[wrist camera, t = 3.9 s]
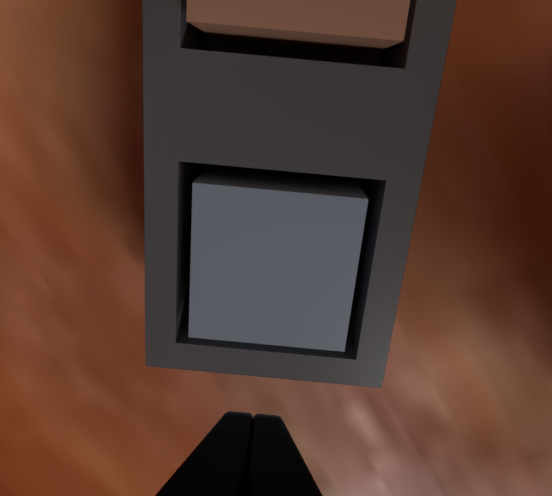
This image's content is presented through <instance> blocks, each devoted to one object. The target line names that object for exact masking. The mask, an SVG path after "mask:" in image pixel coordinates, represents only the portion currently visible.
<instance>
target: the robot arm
mask: <svg viewBox="0 0 552 496" xmlns="http://www.w3.org/2000/svg"><path fill="white" fill-rule="evenodd" d="M155 496H322V494H321V492H320V490H319V488H318V486H317V484H316V483H315V481H314V479H313V477H312V475H311V473H310V471H309V469H308V467H307V466H306V464H305V462H304V460H303V458H302V456H301V454H300V452H299V450H298V449H297V447H296V445H295V443H294V441H293V439H292V437H291V435H290V433H289V431H288V430H287V428H286V426H285V424H284V422H283V420H282V419H281V417H279V416H277V415H266V414H256V415H255V416H254V418H253V416H252V414H250V413H243V412H232V411H229V412H227V413H225V414H224V415H223V416H222V418H221V419H220V420H219V421H218V422H217V424H216V425H215V426H214V427H213V428H212V429H211V431H210V432H209V433H208V434H207V435H206V436H205V438H204V439H203V440H202V441H201V442H200V444H199V445H198V446H197V447H196V448H195V449H194V451H193V452H192V453H191V454H190V455H189V456H188V458H187V459H186V460H185V461H184V462H183V464H182V465H181V466H180V467H179V468H178V469H177V471H176V472H175V473H174V474H173V475H172V476H171V478H170V479H169V480H168V481H167V482H166V483H165V485H164V486H163V487H162V488H161V489H160V491H159V492H158V493H157V494H156V495H155Z"/></svg>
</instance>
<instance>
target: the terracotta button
mask: <svg viewBox="0 0 552 496" xmlns="http://www.w3.org/2000/svg"><path fill="white" fill-rule="evenodd" d="M409 5H410V0H187V12H186V21H187V22H189V23H190V24H192V25H193V26H195V27H197V28H198V29H200V30H202V31H203V32H205V33H206V34H208V35H210V36H211V37H213V38H215V39H222V40H233V41H244V42H255V43H266V44H276V45H287V46H298V47H309V48H320V49H331V50H342V51H353V52H364V53H375V52H378V51H380V50H383V49H385V48H388V47H390V46H393V45H395V44H397V43H400V42H402V41H404V35H405V29H406V23H407V17H408V11H409Z"/></svg>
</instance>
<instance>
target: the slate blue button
mask: <svg viewBox="0 0 552 496" xmlns="http://www.w3.org/2000/svg"><path fill="white" fill-rule="evenodd" d="M367 206H368V197H367V196H366V195H365V193H364V192H363V190H362V189H361V187H360V186H359V184H358V183H357V181H356V180H355V178H354V177H343V176H332V175H322V174H311V173H300V172H289V171H278V170H268V169H257V168H246V167H235V166H224V165H213V164H211V165H210V166H209V167H208V168H207V169H206V170H205V171H204V172H203V173H202V174H201V175H200V176H199V177H198V178H197V179H196V180H195V181H194V182H193V184H192V222H191V260H190V297H189V335H188V337H191V338H202V339H213V340H223V341H234V342H245V343H256V344H266V345H277V346H288V347H299V348H309V349H320V350H331V351H342V352H345V345H346V339H347V333H348V326H349V320H350V314H351V307H352V301H353V295H354V288H355V282H356V276H357V269H358V263H359V256H360V250H361V244H362V237H363V231H364V225H365V218H366V212H367Z"/></svg>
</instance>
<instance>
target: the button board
mask: <svg viewBox="0 0 552 496" xmlns="http://www.w3.org/2000/svg"><path fill="white" fill-rule="evenodd" d="M456 1H457V0H410V5H409V11H408V17H407V23H406V29H405V35H404V41H402V42H400V43H397V44H395V45H393V46H390V47H388V48H385V49H383V50H380V51H378V52H375V53H364V52H353V51H342V50H331V49H320V48H309V47H298V46H287V45H276V44H266V43H255V42H244V41H233V40H222V39H215V38H213V37H211V36H210V35H208V34H206V33H205V32H203V31H202V30H200V29H198V28H197V27H195V26H193V25H192V24H190V23H189V22H187V21H186V12H187V0H142V16H143V124H144V232H145V340H146V366H152V367H162V368H173V369H184V370H195V371H205V372H216V373H227V374H237V375H248V376H259V377H270V378H280V379H291V380H302V381H312V382H323V383H334V384H345V385H355V386H366V387H377V388H382V383H383V377H384V372H385V367H386V362H387V357H388V352H389V346H390V341H391V336H392V331H393V326H394V321H395V316H396V310H397V305H398V300H399V295H400V290H401V285H402V280H403V274H404V269H405V264H406V259H407V254H408V249H409V243H410V238H411V233H412V228H413V223H414V218H415V213H416V207H417V202H418V197H419V192H420V187H421V182H422V177H423V171H424V166H425V161H426V156H427V151H428V146H429V140H430V135H431V130H432V125H433V120H434V115H435V110H436V104H437V99H438V94H439V89H440V84H441V79H442V74H443V68H444V63H445V58H446V53H447V48H448V43H449V37H450V32H451V27H452V22H453V17H454V12H455V7H456ZM211 164H213V165H224V166H235V167H246V168H257V169H268V170H278V171H289V172H300V173H311V174H322V175H332V176H343V177H354V178H355V180H356V181H357V183H358V184H359V186H360V187H361V189H362V190H363V192H364V193H365V195H366V196H367V197H368V206H367V212H366V218H365V225H364V231H363V237H362V244H361V250H360V256H359V263H358V269H357V276H356V282H355V288H354V295H353V301H352V307H351V314H350V320H349V326H348V333H347V339H346V345H345V352H342V351H331V350H320V349H309V348H299V347H288V346H277V345H266V344H256V343H245V342H234V341H223V340H213V339H202V338H191V337H188V335H189V297H190V260H191V222H192V184H193V182H194V181H195V180H196V179H197V178H198V177H199V176H200V175H201V174H202V173H203V172H204V171H205V170H206V169H207V168H208V167H209V166H210V165H211Z"/></svg>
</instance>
